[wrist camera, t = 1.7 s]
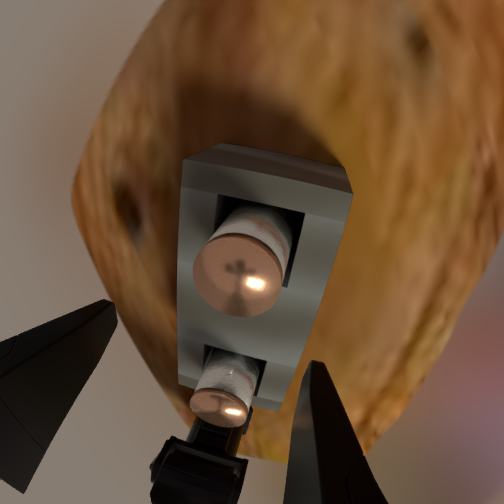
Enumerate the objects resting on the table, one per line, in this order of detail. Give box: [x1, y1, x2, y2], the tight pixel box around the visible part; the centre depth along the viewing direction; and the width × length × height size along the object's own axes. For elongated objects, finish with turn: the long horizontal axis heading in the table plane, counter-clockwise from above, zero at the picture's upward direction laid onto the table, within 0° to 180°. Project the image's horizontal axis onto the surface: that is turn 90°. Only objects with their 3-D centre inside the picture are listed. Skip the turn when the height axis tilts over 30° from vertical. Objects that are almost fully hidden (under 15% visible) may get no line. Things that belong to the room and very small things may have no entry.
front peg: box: [193, 200, 295, 317], centre depth 14 cm, size 4×4×6 cm
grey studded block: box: [177, 143, 353, 412], centre depth 20 cm, size 17×8×6 cm, turn 172°
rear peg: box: [190, 347, 263, 427], centre depth 19 cm, size 4×4×6 cm
